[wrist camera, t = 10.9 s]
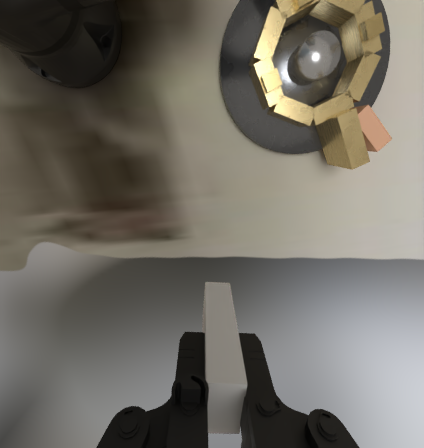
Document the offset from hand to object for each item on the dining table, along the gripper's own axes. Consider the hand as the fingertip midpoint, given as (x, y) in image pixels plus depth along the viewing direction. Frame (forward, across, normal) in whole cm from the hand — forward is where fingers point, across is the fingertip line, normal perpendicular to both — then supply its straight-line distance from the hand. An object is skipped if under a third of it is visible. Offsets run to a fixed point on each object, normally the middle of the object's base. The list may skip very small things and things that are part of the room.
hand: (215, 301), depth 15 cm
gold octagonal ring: (+27, +14, +17) cm, 35 cm away
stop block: (+29, +21, +12) cm, 38 cm away
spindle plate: (+29, +12, +20) cm, 37 cm away
